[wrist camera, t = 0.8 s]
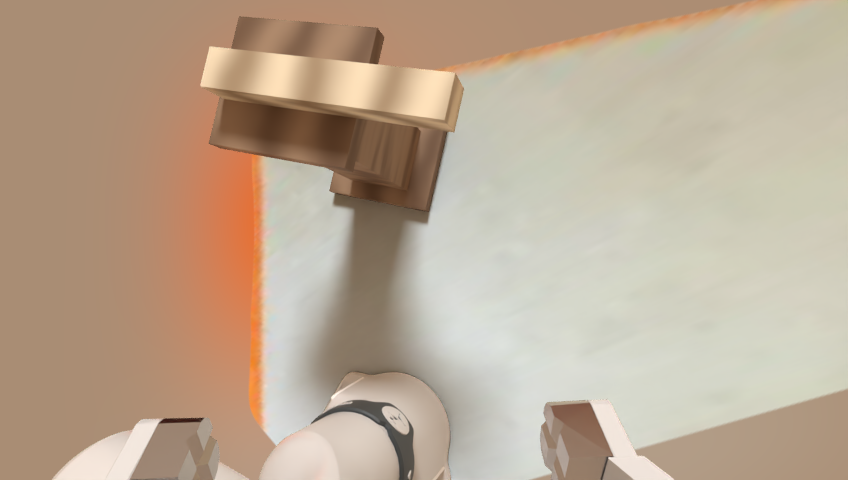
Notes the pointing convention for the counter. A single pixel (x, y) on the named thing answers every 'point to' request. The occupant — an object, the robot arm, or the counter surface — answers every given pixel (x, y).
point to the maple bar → (336, 87)
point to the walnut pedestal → (331, 121)
